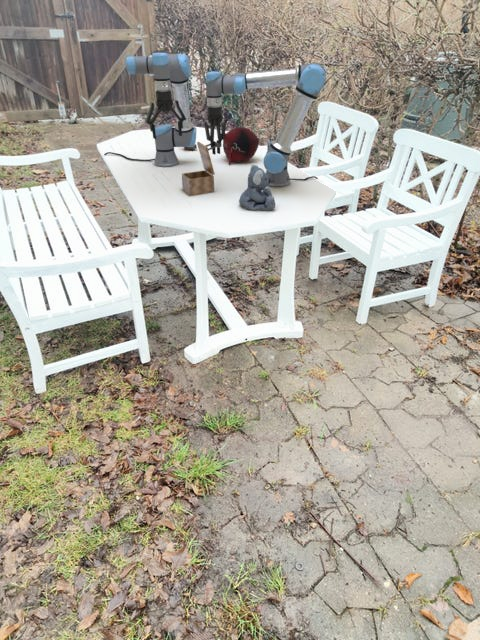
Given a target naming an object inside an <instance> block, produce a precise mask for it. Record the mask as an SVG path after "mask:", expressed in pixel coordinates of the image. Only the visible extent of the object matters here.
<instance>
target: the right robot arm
mask: <svg viewBox="0 0 480 640" xmlns="http://www.w3.org/2000/svg"><path fill="white" fill-rule="evenodd" d="M325 69H326V68H324V66H323V65H322V64H321V63H319V62H310V63H307V64H306V63H305V64H301V65H297V66H296V67H294V68H283V69H272V70H262V71H252V72H250V71H249V72H236V73H234V74H232V76H223V75H222V73H221V72H220V71H207V72H206V73H205V74H206V75H205V86H206V88H205V90H206V105H207V107H206V110H207V111H206V112H207V118H206V119H205V120H203V121H202V124H203V126H204V131H205V137H206V140H207V141H208V142H210V143H209V144H210V148H211V147H213V146H215V142H217V143H219V144H220V147H219V148H218V147H216V148H213V149H211V151H212V153H211V154H213V155H214V156H215V155H217V154H218V155H220V154H221V148H222V147H223V144H222V142H223V139H225V133H226V128H227V123H228V119H226V118H225V117H223V107H222V105H223V100H222V98H223V97H222V96H223V94H230V95H233V94H234V95H242V94H245V92H246V90H252V89H264V88H276V87H290V86H295V88H294V89H295V95H294V98H293V100H292V102H291V104H290V107H289V109H288V112H287V114H286V116H285V118H284V120H283V123H282V125H281V127H280V129H279V132H278V134H277V136H276V138H275V140H269V141H268V142H267V145H266V148H267V151H266V153H265V154H264V157H263V161H262V162H263V167H264V169H265V170H266V171H265V173H266V174H267V177H268V178H269V179H270V183H269V184H268V185H267V187H273V188H283V187H286V186H288V185H290V184H291V181H307V180H308V179H313V178H314V179H316V180H319V178H318V177H317V176H314V175H313V176H307V177H305V178H290V174H289V170H288V165H289V163H288V162H289V157H290V156H291V153H292V145H293V143H294V140H295V139H296V136H297V134H298V132H299V130H300V128H301V127H302V124H303V122H304V120H305V117H306V116H307V113H308V111H309V109H310V107H311V105H312V103H313V102H315V101H317V100H318V98H319V95H320V93H321V91H322V89H323V88H324V87H325V84H326V81H327V73H326V70H325ZM209 127H210V128H209ZM215 129H216V135H217V136H216V137H217V140H216V141H215ZM214 141H215V142H214ZM216 153H217V154H216Z"/></svg>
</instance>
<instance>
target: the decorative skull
mask: <svg viewBox="0 0 480 640" xmlns="http://www.w3.org/2000/svg"><path fill="white" fill-rule="evenodd" d="M259 145H260V139H259V138H258V136H257V135H256V133H254V132H253V131H252V130H251V129H250V128H248V127H243V126H242V127H241V126H238V127H235V128H233V129H231V130H229V131H227V132H225V139H223V140H222V149H223V153H224V154H225V157H226V159H227V161H228V165H229V166H231V164H232V162H234V163H235V162H236V163H245V162H247V161H249V160H251V159H252V158H253V157H254V156H255V154H256V153H257V151H258V148H259Z"/></svg>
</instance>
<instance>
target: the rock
mask: <svg viewBox="0 0 480 640" xmlns="http://www.w3.org/2000/svg"><path fill="white" fill-rule="evenodd" d="M183 148H184V150H186V151H187V150H188V151H189V150H191V151H192V150H193V151H194V150H197V149H198V146H197V143H195V146H194V147H183Z"/></svg>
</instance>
